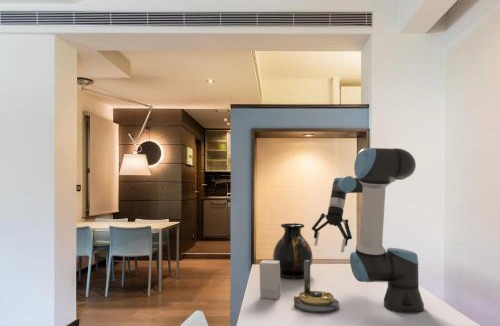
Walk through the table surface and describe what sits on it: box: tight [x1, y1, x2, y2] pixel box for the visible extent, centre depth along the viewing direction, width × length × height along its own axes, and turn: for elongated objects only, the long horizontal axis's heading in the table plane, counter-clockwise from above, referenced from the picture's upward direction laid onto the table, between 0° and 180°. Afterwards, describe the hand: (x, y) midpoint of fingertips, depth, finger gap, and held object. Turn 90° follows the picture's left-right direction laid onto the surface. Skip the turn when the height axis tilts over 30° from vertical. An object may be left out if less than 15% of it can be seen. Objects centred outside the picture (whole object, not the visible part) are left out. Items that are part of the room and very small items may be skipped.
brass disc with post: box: [298, 260, 334, 306], centre depth 154 cm, size 14×14×15 cm
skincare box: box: [259, 259, 281, 300], centre depth 165 cm, size 8×7×16 cm
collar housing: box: [293, 290, 340, 315], centre depth 153 cm, size 18×18×5 cm
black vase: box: [272, 222, 313, 280], centre depth 203 cm, size 22×22×28 cm
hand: (328, 248), depth 184 cm, fingers open, 13 cm apart
